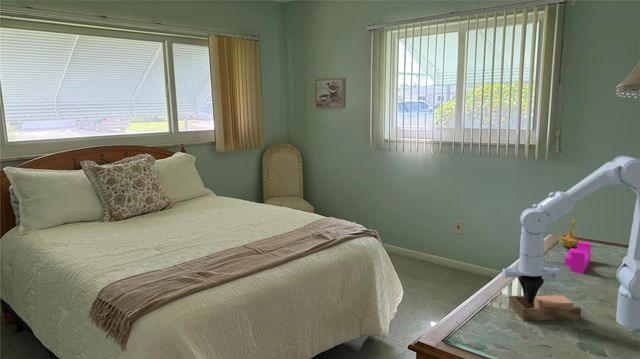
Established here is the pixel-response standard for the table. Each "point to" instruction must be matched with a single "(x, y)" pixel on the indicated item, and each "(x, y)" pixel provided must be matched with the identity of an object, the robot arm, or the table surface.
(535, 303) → the terracotta brick
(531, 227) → the robot arm
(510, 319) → the table surface
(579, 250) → the toy block
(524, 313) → the walnut cubby
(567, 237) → the magic lamp
